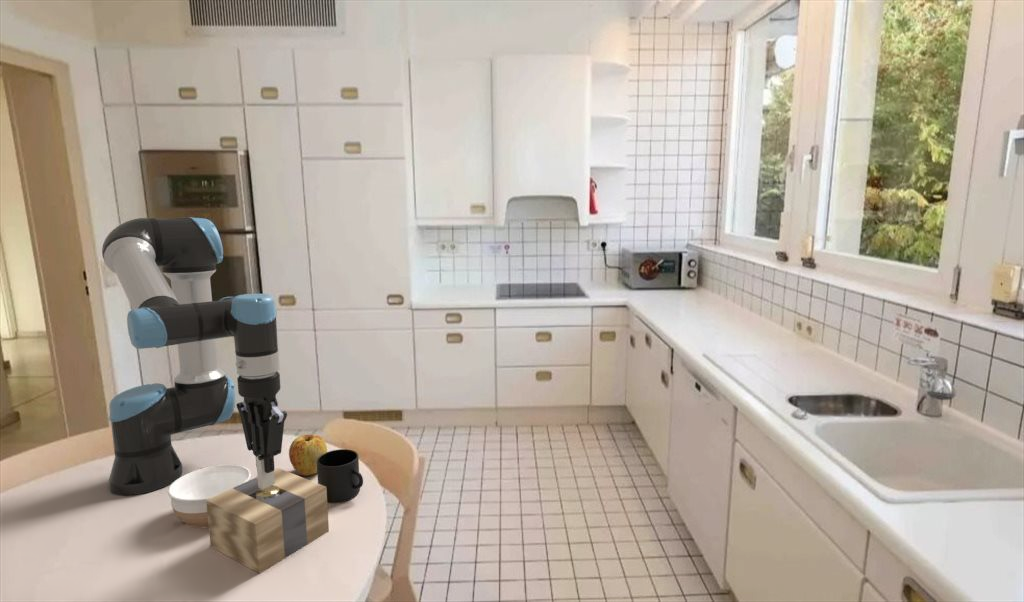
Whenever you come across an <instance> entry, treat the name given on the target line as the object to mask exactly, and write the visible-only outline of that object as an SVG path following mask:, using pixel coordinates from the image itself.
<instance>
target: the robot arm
mask: <svg viewBox="0 0 1024 602" xmlns="http://www.w3.org/2000/svg"><path fill="white" fill-rule="evenodd" d="M223 248H224V247H223V243H222V240H221V237H220V234H219V231H218V229H217V227H216V225H215V224H214V222H213V221H211V220H209V219H207V218H201V217H191V216H189V217H151V218H149V217H139V218H133V219H130V220H127V221H125V222H122V223H120V224H118V225H117V226H116V227H114V228H113V230H111V231H110V232H109V233H108V234H107V236H106V237H105V239H104V242H103V243H102V248H101V255H102V259H103V261H104V263H105V265H106V267H107V268H108V269H109V270H110V271H111V272H112V273H114V274H115V275H116V277H117V279H118V280H119V282H120V284H121V287H122V289H123V292H124V293H125V295H126V298H127V299H128V301H129V304H130V306H131V307H132V309H131V310H130V311H128V313H127V315H126V316H127V317H126V323H127V331H128V336H129V340H130V344H131V345H132V346H133V347H134V348H135V349H140V350H142V349H144V350H145V349H151V348H152V349H153V348H156V349H160V348H163V347H169V346H174V345H177V353H178V363H179V373H178V374H177V375H176V376H175V377H174V378H173V381H174V386H172V387H166V385H165V384H163V383H157V382H156V383H151V384H150V383H147V384H142V385H139V386H134V387H132V388H129V389H126V390H124V391H122V392H120V393H119V394H116V395H115V396H114V397H113V398H112V399H111V400H110V402H109V417H108V418H109V422H110V424H111V432H112V444H113V450H114V460H113V463H112V468H111V470H110V473H109V478H108V484H109V486H108V487H109V491H110V492H111V493H113V494H116V495H118V496H119V495H121V496H131V495H132V496H134V495H141V494H145V493H150V492H153V491H157V490H160V489H164V488H165V487H167V486H170V485H171V484H172V483H173V482H174V481H175V480H177V479H178V478H180V477H182V476H183V463H182V461H181V460H180V458H179V456H178V454H177V452H176V451H175V449H174V447H173V445H172V435H174V434H175V435H176V434H179V433H184V432H187V431H193V430H195V429H200V428H203V427H209V426H215V425H216V424H217V425H218V424H220V423H223V422H226V421H228V420H229V419H230V418H231V417H232V415H233V414H234V411H235V408H237V410H238V413H239V416H240V420H241V426H242V431H243V434H244V438H245V443H246V447H247V448H246V449H247V450H248V451H252V454H253V455H254V456H255V465H256V472H257V477H258V487H259V488H261V489H264V488H267V487H269V486H271V485H273V484H275V478H274V469H276V468H275V458H274V457H275V456H277V455H278V456H279V455H280V454H281V453H282V447H283V446H282V445H283V439H284V437H283V436H284V427H285V421H286V419H287V417H288V414H287V413H288V412H287V411H285V410H284V411H281V410H280V408H279V407H278V406H279V403H278V399H277V394H278V393H279V392H280V390H281V376H280V372H279V370H280V358H279V355H280V354H279V348H278V346H279V344H278V328H277V309H276V303H275V298H274V297H273V296H272V294H271V295H270V294H268V293H245V294H239V295H236V296H226V297H222V298H219V300H213V297H212V287H211V286H212V285H211V277H212V275H214V273H216V271H217V264H221V263H222V261H223V259H224V256H223V255H224V249H223ZM159 267H162V268H161V270H160V268H159ZM164 275H165V276H166V277H167V278H168V279H169V280H170V283H171V285H169V283H168V281H167V280H166V278H165V276H164ZM170 286H171V287H170ZM230 337H233V339H234V341H233V342H234V351H235V352H234V353H235V360H236V362H235V366H236V373H237V375H238V377H237V389H238V391H237V392H238V393H237V394H238V395H239V396H240V397H242V398H243V401H240V402H238V403H237V402H236V388H235V384H234V381H233V379H232V378H231V377H229V376H226V372H225V371H224V370H222V369H221V368H220V367H219V363H218V353H217V352H218V349H217V339H222V338H230ZM235 406H236V407H235Z"/></svg>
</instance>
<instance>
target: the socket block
mask: <svg viewBox="0 0 1024 602" xmlns="http://www.w3.org/2000/svg"><path fill="white" fill-rule="evenodd" d="M274 478H275V484H273V485H271V486H277V487H279V491H280V495H278V496H276V497H274V498H272V499H270V500H268V501H266V502H261V501H259V500H257V499H256V491H257V490H259V489H260V488H259V487H258V476H257V477H254V478H252V479H250V480H249V481H247V482H245V483H243V484H241V485H239V486H236V487H234V488H232V489H230V490H227V491H225V492H223V493H221V494H219V495H216V496H214V497H212V498H210V499H207V500H206V503H207V514H208V524H209V527H208V534H209V542H210V547H211V548H213V549H215V550H216V551H219V552H220V553H222V554H223V555H226V556H227V557H228V558H231V559H233V560H234V561H236V562H238V563H240V564H242V565H243V566H245V567H247V568H248V569H250V570H251V571H252V570H253V571H254V572H256V573H258V574H261V573H263V572H264V571H266V570H268V569H270V568H271V567H273V566H275V565H277V563H279V562H281V561H283V560H284V559H286V558H287V557H289V556H290V555H292V554H294V553H296V552H297V551H299V550H300V549H302V548H304V547H305V546H307V545H309V544H310V543H312V542H314V541H315V540H317V539H319V538H320V537H321V536H323V535H324V534H326V533H329V531H330V530H329V529H330V528H329V513H328V508H329V507H328V502H327V489H326V486H323V485H320V484H318V482H315V481H312V480H310V479H307V478H305V477H304V476H301V475H297V474H295V473H291V472H289V471H287V470H284V469H283V468H282V469H281V468H279V467H276V468H275V469H274Z"/></svg>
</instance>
